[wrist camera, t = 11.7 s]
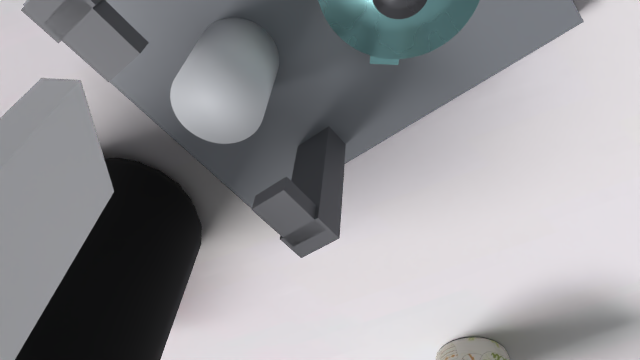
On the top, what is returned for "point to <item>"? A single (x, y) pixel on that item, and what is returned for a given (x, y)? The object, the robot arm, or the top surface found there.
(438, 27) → the teal rounded piece
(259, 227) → the top surface
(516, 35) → the grey tray with posts
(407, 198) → the top surface
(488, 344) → the mug
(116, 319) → the coffee jar
